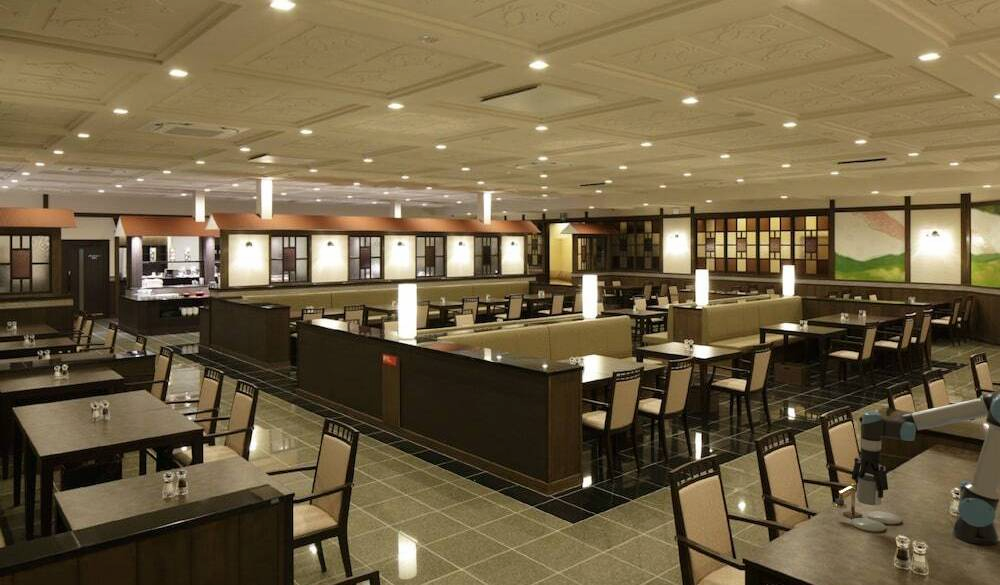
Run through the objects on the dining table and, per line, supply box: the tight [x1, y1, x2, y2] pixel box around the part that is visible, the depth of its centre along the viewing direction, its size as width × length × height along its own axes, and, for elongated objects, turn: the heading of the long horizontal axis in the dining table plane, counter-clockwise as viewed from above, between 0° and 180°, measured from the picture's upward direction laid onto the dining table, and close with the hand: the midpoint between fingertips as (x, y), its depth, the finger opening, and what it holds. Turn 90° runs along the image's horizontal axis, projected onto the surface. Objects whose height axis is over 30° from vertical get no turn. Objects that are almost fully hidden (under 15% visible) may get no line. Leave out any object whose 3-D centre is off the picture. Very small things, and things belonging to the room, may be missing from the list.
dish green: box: [850, 517, 886, 533], centre depth 291 cm, size 13×13×1 cm
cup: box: [856, 475, 877, 506], centre depth 290 cm, size 8×8×10 cm
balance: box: [832, 482, 863, 520], centre depth 302 cm, size 22×6×16 cm, turn 113°
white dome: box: [867, 510, 903, 525], centre depth 299 cm, size 13×13×1 cm
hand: (868, 501), depth 291 cm, fingers closed on cup, 8 cm apart
